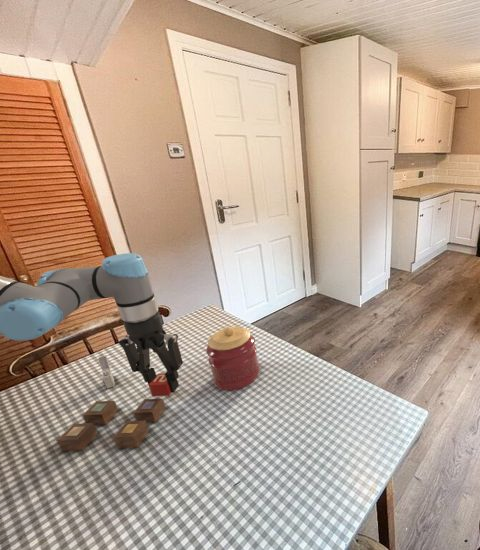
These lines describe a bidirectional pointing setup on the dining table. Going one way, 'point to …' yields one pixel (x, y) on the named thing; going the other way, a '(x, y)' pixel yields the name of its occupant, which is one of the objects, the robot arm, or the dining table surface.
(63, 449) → the word block
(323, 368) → the dining table surface
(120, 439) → the right word block
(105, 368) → the lighter
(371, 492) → the dining table surface
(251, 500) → the dining table surface
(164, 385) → the red letter cube
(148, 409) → the right word block
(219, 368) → the kitchen canister
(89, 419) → the left word block
